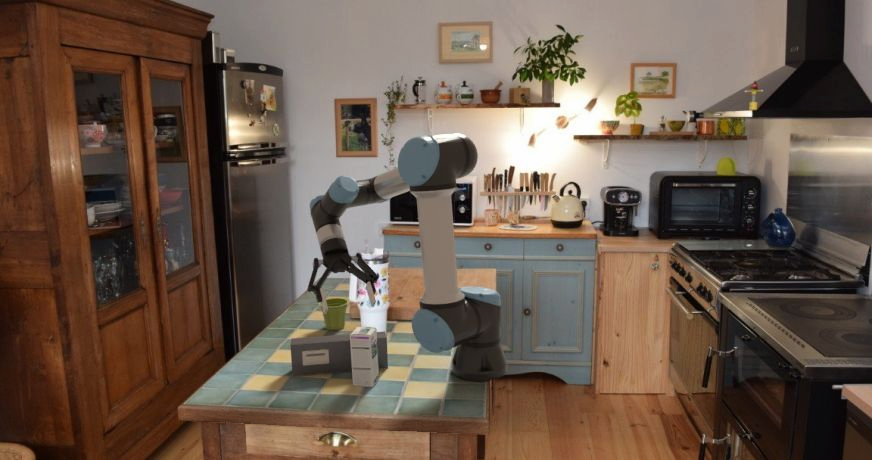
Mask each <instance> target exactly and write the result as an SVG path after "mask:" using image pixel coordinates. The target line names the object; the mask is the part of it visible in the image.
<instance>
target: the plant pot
mask: <svg viewBox="0 0 872 460" xmlns="http://www.w3.org/2000/svg"><path fill="white" fill-rule="evenodd" d="M326 302H327V306H328V311H327V314H324V312H323V308H322V304H321V302H318V305H319V306H320V309H321V311H322V315H323V320H324V325H325V329H326V330H328V331H334V330H337V331H339V330H342V329H344V328H345V327H346V317H347V316H346V313H347V308H348V304H349V300H348V299H346V298H341V297H331V298H326Z"/></svg>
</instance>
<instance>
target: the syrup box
mask: <svg viewBox="0 0 872 460" xmlns="http://www.w3.org/2000/svg"><path fill="white" fill-rule="evenodd" d="M377 332H378V331H377V328H376V327H374V326H373V327H371V326H356V327H355V329H354V330H352V332H351V333H349V334H350V348H351V363H352V371H351V376H352V378H351V379H352V386H354V387H363V388H374V387H375V385H376V384H377V382H378V381H379V379H380V369H379V362H378V344H377Z"/></svg>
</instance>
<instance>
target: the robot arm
mask: <svg viewBox="0 0 872 460" xmlns="http://www.w3.org/2000/svg"><path fill="white" fill-rule="evenodd" d="M478 154H479V153H478V148H477V147H476V145H475V143H474V142H473V140H471V138H469V137H468V136H466V135H464V134H462V133H458V132H451V133H442V134H438V133H437V134H423V135H420V136H415V137H412V138H410V139H408V140H407V141H406V142H405V143H404V144H403V146H402V147H401V149H400V151H399V154H398V157H397V167H395V168H393V169H389V170H387V171H385V172H382V173H380V174H378V175H375V176H373V177H370V178H366V179H361V180H355V179H354V178H353V177H351V176H347V175H340V176H337V177H336V178H335V180H334V181H333V182H332V183H331V184H330V185H329V188H328V189H327V191H326V192H325V193H324V194H322V195H317V196H316V197H315V198H312V199H311V200H310V202H309V210H310V212H309V213H310V216H311V219H312V223H313V226H314V231H315V233H316V237H317V238H316V239H317V241H318V244H319V248H320V252H321V257H322V259H319V258H318V257H315V258H313V262H312V269H313V270H312V272H311V276H310V279H309V282H308V286H307V289H306V291H307V292H308V293H311V292H313V294H314V295H315V299H316V302H317V303H320V302H321V304H322V308H323V312H324V314H327V311H328V306H327V302H326V299H327V298H326V296H325V291H324V288H323V286H324V284H325V282H326V280H327V279H328V278H329V276H330V275H331V274H332V273H333V274H337V273H345V272H347V273H349V274H351V275H352V276H354V277H356V278H357V279H359V280H360V281H361V282H363V283H364V284H366V286H365V289H366V293H367V296H368V300H369V303H370V307H372V308H373V307H375V306H376V303H377V300H376V297H375V295H376V293H377V289H376V286H375V284H376V283H378V280H379V278H380V276H379V274H377V273H376V272H375V270H373V268H371V266H369V264H368V263H367V262H366V261H365V260H364V258H363V257H362V255H361V253H359V252H356V254H354V255H351V254H350V253H349V249H348V245H347V242H346V238H345V235H344V232H343V229H342V224H341V222H340V219H341V217H342V216H343V215H344V213H346V211H347V209H350V208H357V207H363V206H367V205H373V204H382V203H385V202H389V201H390V200H391V199H392V198H393V197H394V198H395V197H397V196H399V195H402V194H405V193H407V192H409V193H410V194H411V195H413V196H414V198H416V205H417V218H418V230H419V232H418V233H419V242H420V254H421V265H422V275H423V276H422V277H423V279H422V280H423V289H424V292H423V293H422V294H421V295H420V297H419V298H418V300H419V309H418V310H417V311H416V312H414V315H413V316H412V318H411V328H412V333H413V335H414V338H415V339H416V341H417V342H418V343H419V344H420V346H421V347H422V348H423V349H425V350H426V351H429V353H436V354H438V353H442V352H447V351H450V350H453V349H454V348H455V352H454V354H453V358H452V361H451V371H452V374H453V375H454V376H456V377H458V378H460V379H462V380H466V381H472V382H488V381H493V380H498V379H500V378H502V377H504V376H505V375H506V374H508V373H507V372H508V361H507V358H506V355H505V353H504V348H503V346H502V340H501V339H502V331H501V330H502V329H501V328H502V323H501V322H502V303H501V294H500V293H499V292H498V291H497V290H495V289H492V288H490V287H483V286H471V285H470V286H461V287H459V281H458V280H459V279H458V269H457V255H456V244H455V243H456V241H455V231H454V230H455V228H454V217H453V203H452V195H453V194H454V192H455V191H456V190H457V187H458V186H457V180H458V179H462V178H464V177H467V176H469V175H470V174H471V173H472V172H473V171H474V170H475V168H476V166H477V164H478V158H479V155H478ZM353 262H354V263H353ZM355 264H356V265H357V266H358V267H357V266H356V265H355ZM322 265H323V266H324V267H325V270H324V272H323V274H322V275H321V276H320V279H319V280H318V281H317V283H316V285H315V280H316V278H317V273H318V270H319V269H320V268H321V266H322ZM323 312H322V313H323Z"/></svg>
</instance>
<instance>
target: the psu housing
mask: <svg viewBox="0 0 872 460" xmlns="http://www.w3.org/2000/svg"><path fill="white" fill-rule="evenodd" d="M350 334H351V333H348V334H347V333H345V334H334V335H319V336H307V337H306V336H305V337H294V338H293V337H292V338H291V339H290V357H291V358H290V359H291V372H292V377H300V376H301V377H302V376H313V375H325V374H335V373H338V374H339V373H346V372H350V373H351V372H352V363H351V348H350ZM377 344H378V362H379V370H383V369H384V368H385V369H389V363H388V362H389V361H388V359H389V358H388V337H387V332H386V331H377ZM385 369H384V370H385Z"/></svg>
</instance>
